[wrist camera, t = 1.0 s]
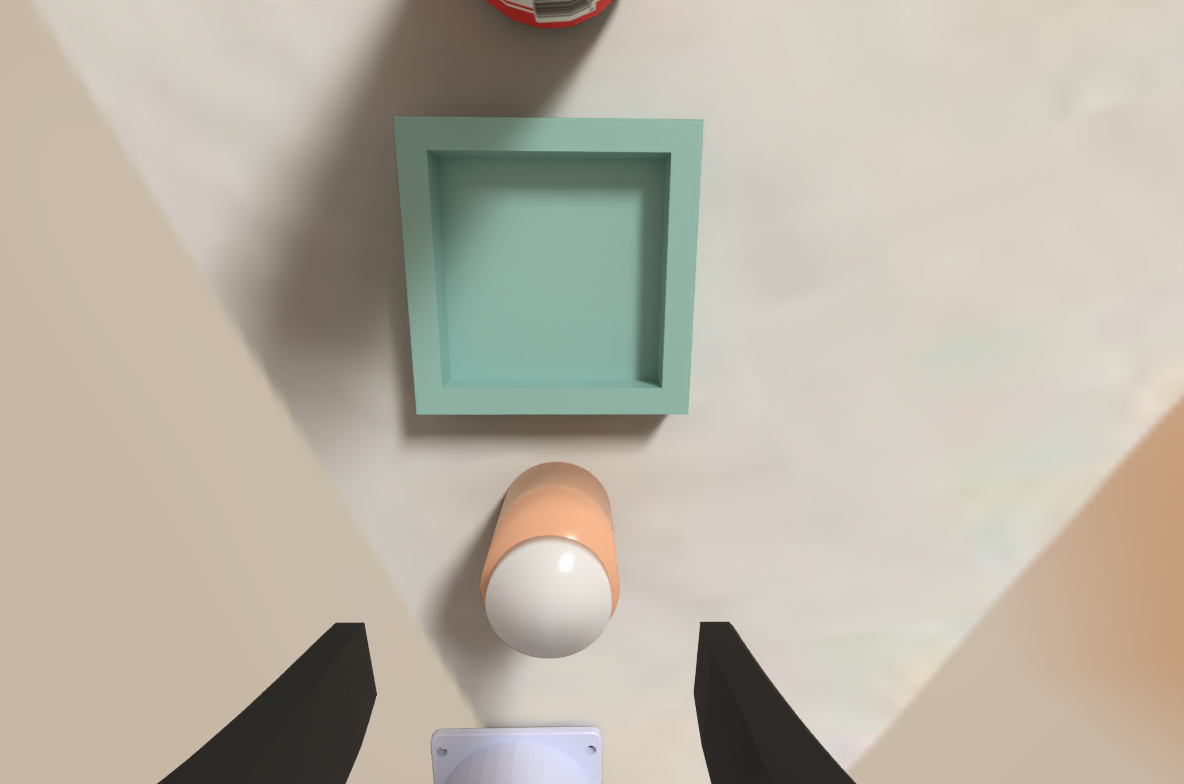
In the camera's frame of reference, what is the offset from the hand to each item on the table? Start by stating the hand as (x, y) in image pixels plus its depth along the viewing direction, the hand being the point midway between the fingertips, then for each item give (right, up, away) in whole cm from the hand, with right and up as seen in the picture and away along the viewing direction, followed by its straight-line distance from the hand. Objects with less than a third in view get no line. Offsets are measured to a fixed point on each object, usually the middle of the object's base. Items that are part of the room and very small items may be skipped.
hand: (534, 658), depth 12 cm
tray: (0, +10, +9) cm, 14 cm away
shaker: (0, +1, +12) cm, 12 cm away
